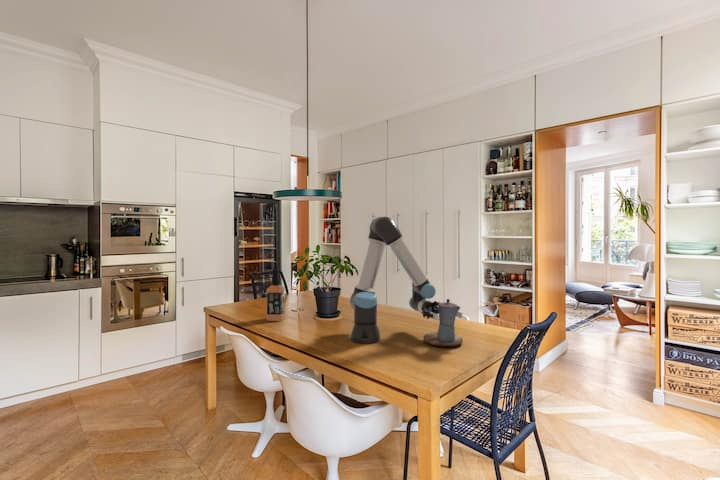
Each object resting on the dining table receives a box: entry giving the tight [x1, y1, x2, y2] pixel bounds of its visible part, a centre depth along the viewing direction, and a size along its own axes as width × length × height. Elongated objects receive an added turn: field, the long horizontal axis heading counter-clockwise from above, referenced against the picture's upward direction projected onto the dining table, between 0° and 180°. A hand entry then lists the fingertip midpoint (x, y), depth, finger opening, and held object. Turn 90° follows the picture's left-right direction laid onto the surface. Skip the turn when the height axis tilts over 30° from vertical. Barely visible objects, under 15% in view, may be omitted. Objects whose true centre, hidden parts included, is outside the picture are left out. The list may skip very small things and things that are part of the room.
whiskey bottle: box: [265, 268, 286, 322], centre depth 235 cm, size 10×10×32 cm
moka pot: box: [431, 298, 461, 342], centre depth 183 cm, size 10×15×20 cm, turn 56°
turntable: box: [423, 331, 463, 347], centre depth 187 cm, size 19×19×1 cm
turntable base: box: [430, 344, 457, 348], centre depth 187 cm, size 14×14×1 cm
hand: (449, 316), depth 181 cm, fingers open, 13 cm apart
